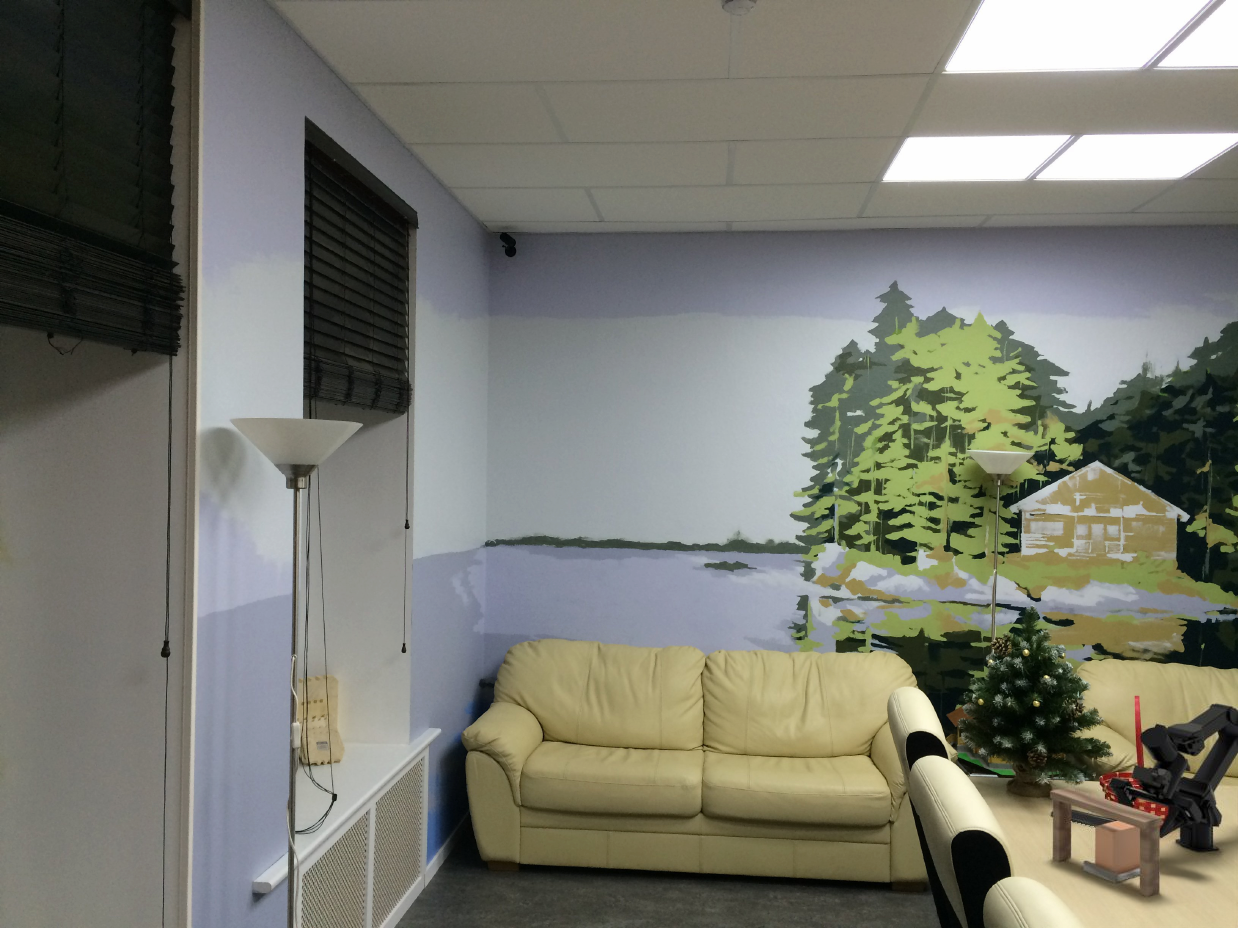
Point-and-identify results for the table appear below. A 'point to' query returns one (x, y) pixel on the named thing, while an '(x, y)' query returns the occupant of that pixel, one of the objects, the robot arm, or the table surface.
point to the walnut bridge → (1115, 811)
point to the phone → (1088, 818)
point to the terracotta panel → (1117, 846)
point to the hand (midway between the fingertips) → (1138, 829)
